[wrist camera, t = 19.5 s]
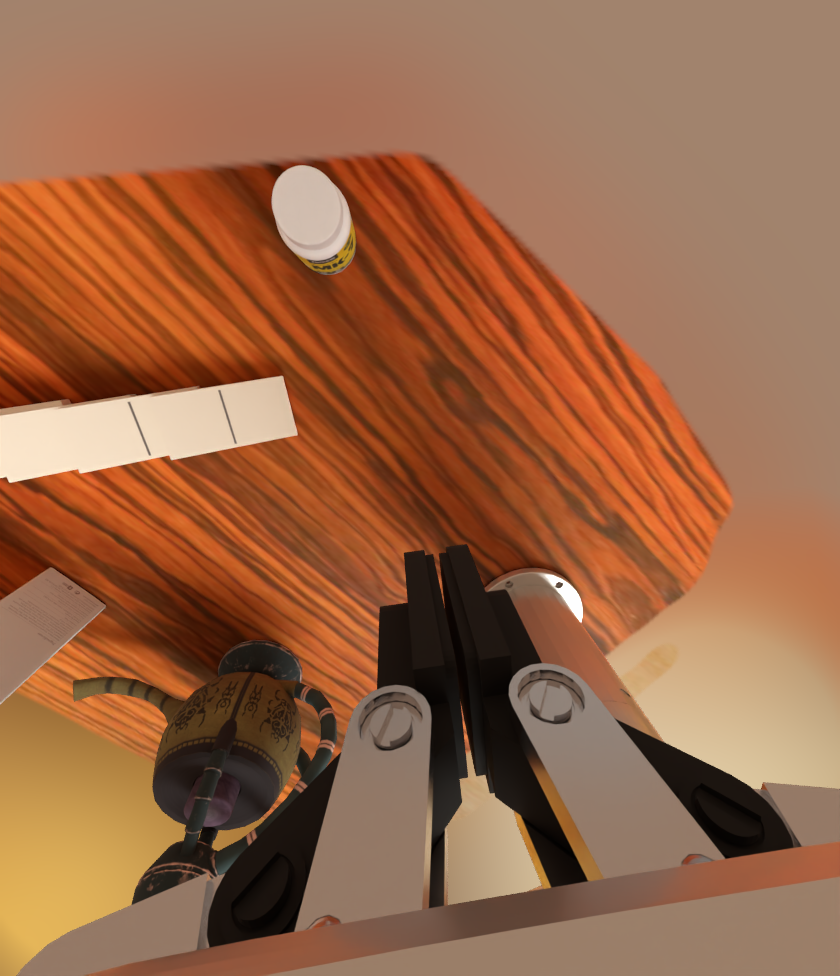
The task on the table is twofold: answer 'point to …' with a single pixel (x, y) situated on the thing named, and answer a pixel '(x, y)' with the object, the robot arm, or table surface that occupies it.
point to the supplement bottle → (314, 219)
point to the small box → (40, 624)
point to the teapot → (226, 755)
